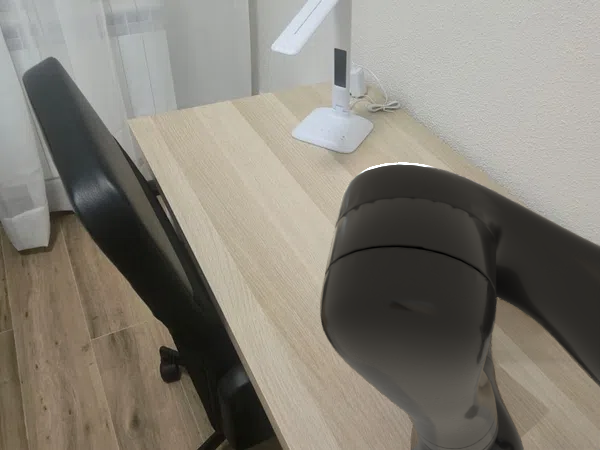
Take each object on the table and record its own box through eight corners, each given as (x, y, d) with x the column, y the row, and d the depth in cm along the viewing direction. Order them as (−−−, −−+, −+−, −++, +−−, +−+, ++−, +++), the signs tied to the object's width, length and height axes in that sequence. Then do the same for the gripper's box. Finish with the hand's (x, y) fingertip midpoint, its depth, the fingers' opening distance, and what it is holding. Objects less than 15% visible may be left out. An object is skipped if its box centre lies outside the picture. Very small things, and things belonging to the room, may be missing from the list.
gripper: (528, 306, 63) (511, 216, 75) (402, 288, 64) (405, 203, 76) (509, 346, 68) (496, 255, 80) (393, 328, 69) (398, 242, 81)
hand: (452, 230), depth 78 cm, fingers open, 8 cm apart
